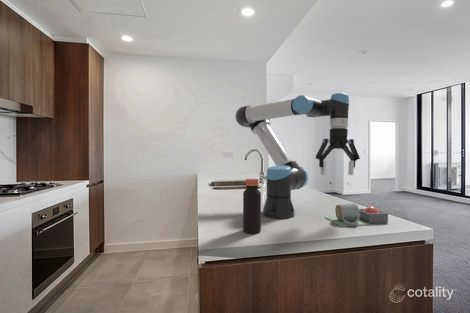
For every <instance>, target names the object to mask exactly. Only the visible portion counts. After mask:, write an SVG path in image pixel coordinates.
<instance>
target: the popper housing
mask: <svg viewBox="0 0 470 313" xmlns="http://www.w3.org/2000/svg"><path fill="white" fill-rule="evenodd" d="M365 209H366V208H359V212H360V218H359V219H360V220H362V221H364V222H366V223H369V224H383V223H384V224H386V223H388V222H389V213H388V212H385V211H382V210H378V209H377V211H379V212H380V213H370V214H369V213H367V212H364V211H363V210H365Z"/></svg>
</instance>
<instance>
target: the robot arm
mask: <svg viewBox="0 0 470 313" xmlns="http://www.w3.org/2000/svg"><path fill="white" fill-rule="evenodd" d="M349 106H350V100H349V94H348V93H346V92H345V93H344V92H337V93H333V94H331V95H330V99H324V100H319V99H315V98H313V97H310V96H309V95H303V94H301V95H297V96H296V97H295V98H292V99H287V100H280V101H274V102H269V103H266V104H260V105H253V104H250V105H249V104H248V105H245V106H240V107H239V108H238V109H237V111H236V112H235V120H236V123H237V124H238V125H239V126H241V127H244V128H249V129H250V130H251V132H252V134H253V135H256V136H257V137H258V138H259V140H260V141H261V144H262V145H263V146H264V148H265V150H266V152H267V153H268V155H269V156H270V158H271V160H272V161H273V163H274V164H275V165H273V166H270V167H268V168H267V169H266V199H265V203H264V205H263V208H262V214H263V216H265V217H267V218H268V217H269V218H273V219H290V218H293V217H295V208H294V205H293V201H292V191H295V190H300V189H302V188H304V187H305V186H306V185H307V183H308V180H309V174H308V172H307V170H306V169H305V168H303V167H302V166H300V165H299V164H298V163H297V161H296V160H295V159H291V157H290V156H289V154H288V153H287V151H286V149H285V147H284V146H283V145H282V143H281V142H280V140H279V138H278V137H277V136H276V134H275V133H274V131H273V129H272V128H271V121H270V119H277V118H285V117H292V116H300V115H302V116H303V115H306V117H307V118H318V117H329V119H330V120H329V139H328V138H323V139H322V142H321V145H320V147H319V149H318V151H317V153H316V155H315V159H317V160H318V161H319V164H318V166H319V168H320V175H322V176H325V175H326V164H327V163H326V160H325V159H326V158H327V157H328V155H330V153H331V152H332V151H334V149H340V150H342V151H343V152H344V153H345V154H346V155H347V157H348V159H349V160H348V173H347V175H348V176H354V169H355V168H356V162H357V161H358V160H360V155H359V152H358V151H357V148H356V146H355V140H354V139H353V138H350V139H348V131H349V130H348V127H349V126H348V125H349V108H350V107H349ZM328 144H329V145H328ZM327 145H328V146H327Z"/></svg>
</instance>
